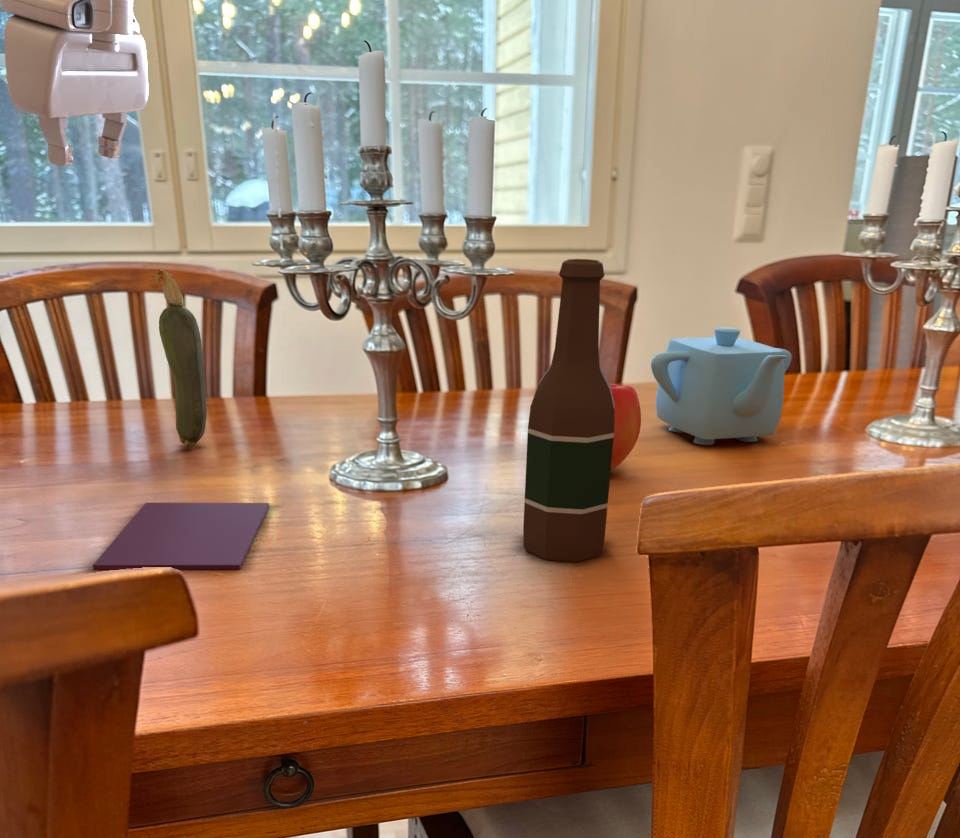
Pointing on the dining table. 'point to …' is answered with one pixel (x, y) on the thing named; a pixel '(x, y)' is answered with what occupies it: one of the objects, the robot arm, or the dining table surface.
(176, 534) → the placemat
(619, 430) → the apple
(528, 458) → the beer bottle
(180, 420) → the vegetable
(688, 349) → the teapot
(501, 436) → the dining table surface
